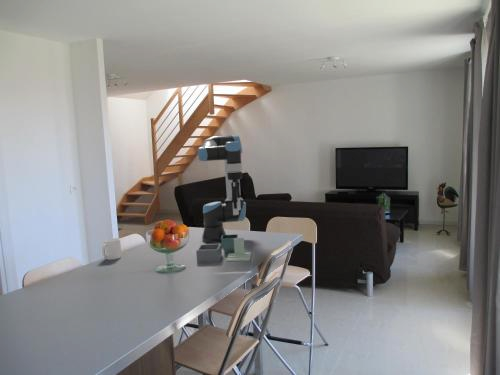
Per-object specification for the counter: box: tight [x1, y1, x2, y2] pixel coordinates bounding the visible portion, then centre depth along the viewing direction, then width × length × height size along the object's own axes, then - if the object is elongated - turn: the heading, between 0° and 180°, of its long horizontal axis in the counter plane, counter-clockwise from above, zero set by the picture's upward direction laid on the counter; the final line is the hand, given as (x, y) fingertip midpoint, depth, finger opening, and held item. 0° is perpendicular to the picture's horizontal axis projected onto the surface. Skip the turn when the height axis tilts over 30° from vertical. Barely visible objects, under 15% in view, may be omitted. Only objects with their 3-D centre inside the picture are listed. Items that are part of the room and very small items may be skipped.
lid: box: [225, 237, 252, 262], centre depth 208 cm, size 13×12×10 cm
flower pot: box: [221, 233, 239, 253], centre depth 223 cm, size 9×9×9 cm
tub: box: [195, 243, 223, 264], centre depth 209 cm, size 12×11×7 cm
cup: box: [101, 237, 123, 261], centre depth 224 cm, size 8×12×10 cm
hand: (237, 212), depth 213 cm, fingers open, 13 cm apart
